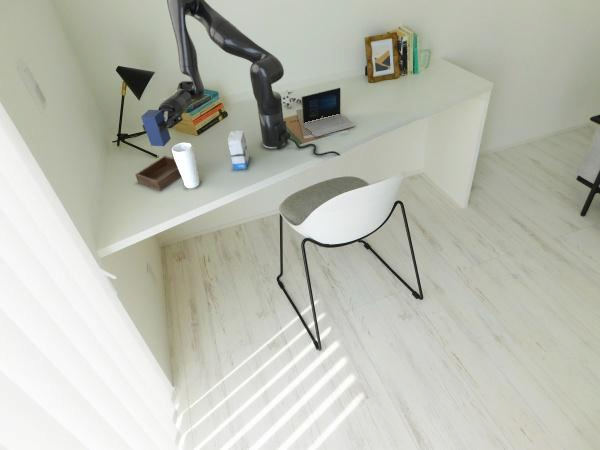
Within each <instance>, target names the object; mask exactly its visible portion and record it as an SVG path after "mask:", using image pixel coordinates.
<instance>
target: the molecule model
mask: <svg viewBox="0 0 600 450" xmlns="http://www.w3.org/2000/svg"><path fill="white" fill-rule="evenodd" d="M285 92H287V95H286V96H285V95H283V96H282V95H281V99H282V100H283V102H282V106H286V107H288V108H289V109H291V106H290V103H294V102H295V103H297V104H302V98H301V99H299V98H296V97H294V98H293V97H290V96H291V95H292V93H293V90H290V91H289V90H288V89H285ZM286 99H288V101H289V102H287V103H286V101H285V100H286Z"/></svg>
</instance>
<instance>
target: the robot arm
mask: <svg viewBox="0 0 600 450" xmlns="http://www.w3.org/2000/svg"><path fill="white" fill-rule="evenodd" d="M166 4H167V10H168V12H169V17H170V22H171V25H172V30H173V34H174V37H175V41H176V47H177V55H178V64H179V72H180V74H182V75H185V76H188V77H189V78H190V80H182V81H179V82H178V83H177V86H176V89H175V91H174V92H173V93H172V94H171V95H170V96H168V97H167V98H166V99H165V100H163V101H162V102H161V103H160V105H159V106H158V109H157V110H162V112H163V115H164V121H162V122H161V123H160V124H159V125H158V129H159V131H160V132H162V131H163V130H164V129H165V128H166V127H167V128H169V127H175V126H177V125H178V124H179V123H181V122H182V121H184V118H183V114H184V113H185V112H186V110H187V109H188V108H189V107H190V105H192V102H193V100H194V101H195V100H197V101H200V100H202V99H203V98H204V96H205V94H206V93H205V86H204V83H203V81H202V78H201V75H200V71H199V66H198V65H199V62H198V53H197V49H196V46H195V44H194V42H193V40H192V38H191V36H190V33H189V30H188V28H187V22H186V21H187V20H186V16H189V17H192V18H193V19H194V20H196V21H197V22H199V23H200V24H201V25H202V26H203V27H204V28H205V31H206V33H207V35H208V37H209V39H210V40H211V41H212V42H213V43H214V45H216V46H217V47H219V48H220V49H221V50H222V51H224V52H225V53H227V54H229V55H231V56H234V57H237V58H240V59H243V60H246V61H249V62H250V63H251V65H250V67H249V78H250V82H251V88H252V93H253V97H254V99H255V101H256V105H257V113H258V120H259V126H260V134H261V140H262V147H263V148H265V149H267V150H281V149H282V148H284V146H286V145H287V144H288V143H289V141H291V142H292V143H294V145H295V146H296V147H297V148H298V149H305V148H308V147H313V151H312V153H313V154H314V155H315V156H321V157H322V156H324V155H329V154H334V155H337V156H339V157H340V156H341V154H340V153H339V152H337V151H335V150H329V151H326V152H320V153H317V152H316V149H317V146H316V144H315V143H308V144H305V145H302V146H301V145H299V144H298V142H297V141H296V140H295V139H293V138H291V137H292V136H291V131H288V130H287V121H286V120H284V113H283V102H282V100H283V99H282V98H281V96H282V95H281V93H279V92H278V91H274V90H273V86H272V85H274V84H275V83H277V82H278V81H280V80H281V79H283V78H284V74H285V69H284V66H283V64H282V62H281V61H280V60H279V59H278V57H276V56H275V55H273V53H271V52H269V51H268V50H266V49H264V48H263V47H262V46H260V45H259V44H257V43H256V42H255V41H254V40H252V39H251V38H249V36H248V35H246V34H244V32H242V31H241V30H240V29H239V28H238V27H236V26H235V25H234V23H232V22H230V21H229V20H228V19H227V18H225V17H224V16H223V15H222V14H220V12H218V11H217V10H215V9H214V8H213V7H211V5H210V4H209V3H208V2H207V1H206V0H166ZM142 130H143V131H144V132H146V129H145V126H144V124H143V123H142ZM288 140H289V141H288Z"/></svg>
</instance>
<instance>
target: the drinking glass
mask: <svg viewBox="0 0 600 450" xmlns="http://www.w3.org/2000/svg"><path fill="white" fill-rule="evenodd" d="M171 153H172V156H173V158H174V159H175V162H176V165H177V167H178V169H179V172H180V174H181V177H180V178H181V179H182V182H183V184H184V187H185V188H187V189H194V188H197V187H199V186H200V184H201V182H200V177H199V172H198V166H197V161H196V156H195V151H194V148H193V145H192V144H191V143H189V142H179V143H176V144H175V145H173V146H172V147H171Z"/></svg>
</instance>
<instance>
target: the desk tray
mask: <svg viewBox="0 0 600 450" xmlns="http://www.w3.org/2000/svg"><path fill="white" fill-rule="evenodd" d="M134 176H135V178H136V180H137V183H138V184H140V185H143V186H145V187H148V188H151V189H154V190H158V191H160V192H161V191H163V190H164V189H166V188H167V187H168V186H170V185H172V184H173V183H174V182H176V181H177V180H178V179H180V178H182V177H181V174H180V172H179V169H178V167H177V165H176V162H175V159H174V157H170V156H168V155H163V156H161V157H160V158H159V159H157V160H155V161H154V162H152V163H151V164H149V165H148V166H146V167H144V168H143V169H142V170H140V171H139V172H136V174H134Z"/></svg>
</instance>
